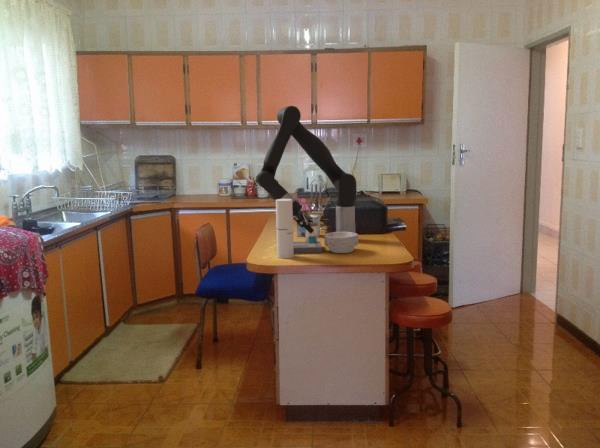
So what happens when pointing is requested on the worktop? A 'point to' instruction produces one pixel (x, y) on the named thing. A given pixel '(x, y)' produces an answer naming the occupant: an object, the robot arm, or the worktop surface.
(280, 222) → the cylindrical container
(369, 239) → the worktop surface
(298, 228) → the light bulb box
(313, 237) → the tea tin
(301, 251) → the display shelf
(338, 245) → the paper bowls
